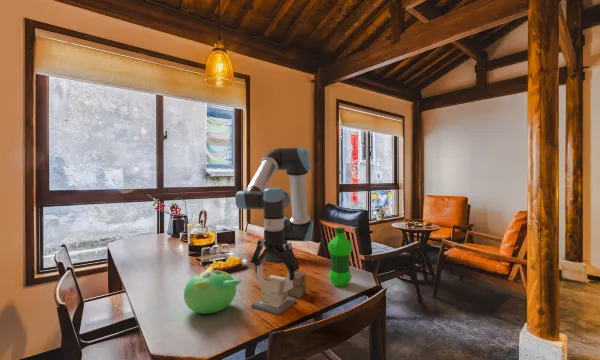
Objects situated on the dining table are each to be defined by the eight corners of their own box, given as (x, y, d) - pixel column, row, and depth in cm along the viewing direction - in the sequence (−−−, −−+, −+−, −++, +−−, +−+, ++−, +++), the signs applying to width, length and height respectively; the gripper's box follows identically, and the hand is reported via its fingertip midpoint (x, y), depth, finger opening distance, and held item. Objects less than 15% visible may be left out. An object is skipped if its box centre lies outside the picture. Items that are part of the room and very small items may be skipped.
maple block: (271, 295, 113) (271, 275, 112) (287, 298, 109) (287, 278, 109) (261, 302, 106) (261, 280, 106) (277, 306, 103) (277, 284, 103)
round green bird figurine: (228, 296, 115) (227, 260, 114) (243, 313, 100) (243, 272, 100) (180, 307, 105) (179, 268, 105) (190, 328, 91) (189, 282, 90)
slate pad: (270, 294, 116) (270, 291, 116) (295, 301, 110) (295, 297, 110) (251, 307, 105) (251, 303, 105) (279, 314, 100) (279, 311, 100)
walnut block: (294, 290, 121) (294, 271, 120) (305, 292, 118) (305, 273, 118) (287, 295, 116) (287, 275, 116) (299, 298, 113) (299, 277, 113)
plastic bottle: (337, 278, 134) (337, 225, 134) (356, 284, 127) (356, 228, 126) (323, 284, 127) (323, 228, 127) (342, 291, 120) (342, 231, 119)
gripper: (241, 227, 110) (242, 282, 111) (298, 234, 98) (298, 295, 99) (253, 224, 116) (254, 275, 117) (308, 230, 104) (308, 287, 105)
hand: (274, 285), depth 108 cm, fingers open, 13 cm apart
